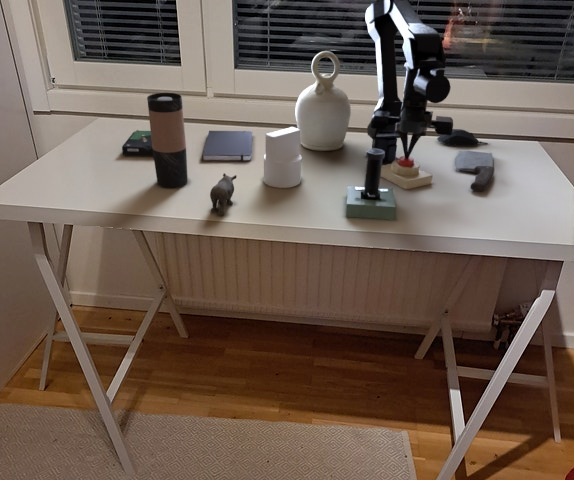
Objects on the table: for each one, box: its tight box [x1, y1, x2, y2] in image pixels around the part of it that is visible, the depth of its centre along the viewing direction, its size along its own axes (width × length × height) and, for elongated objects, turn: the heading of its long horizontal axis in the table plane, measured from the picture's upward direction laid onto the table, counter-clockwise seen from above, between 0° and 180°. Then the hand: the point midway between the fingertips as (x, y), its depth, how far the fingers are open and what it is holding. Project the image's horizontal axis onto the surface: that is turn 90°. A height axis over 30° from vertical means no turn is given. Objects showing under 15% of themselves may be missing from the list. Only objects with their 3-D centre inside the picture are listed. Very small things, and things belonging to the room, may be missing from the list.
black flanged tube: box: [355, 148, 388, 200], centre depth 119 cm, size 7×7×13 cm
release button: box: [398, 155, 415, 167], centre depth 135 cm, size 4×4×2 cm
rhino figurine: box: [209, 172, 237, 216], centre depth 121 cm, size 4×14×6 cm, turn 171°
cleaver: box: [454, 150, 495, 192], centre depth 143 cm, size 29×10×2 cm, turn 163°
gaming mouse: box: [437, 128, 488, 147], centre depth 162 cm, size 6×15×4 cm, turn 88°
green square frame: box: [345, 185, 396, 221], centre depth 122 cm, size 10×10×3 cm
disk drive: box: [121, 129, 154, 157], centre depth 152 cm, size 10×3×15 cm
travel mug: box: [146, 92, 189, 189], centre depth 127 cm, size 8×8×20 cm
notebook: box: [202, 130, 253, 162], centre depth 154 cm, size 13×2×21 cm
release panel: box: [380, 160, 433, 190], centre depth 137 cm, size 11×8×4 cm
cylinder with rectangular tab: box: [263, 126, 303, 189], centre depth 132 cm, size 9×9×12 cm
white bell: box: [295, 50, 352, 152], centre depth 152 cm, size 15×16×25 cm
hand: (406, 157), depth 135 cm, fingers closed
